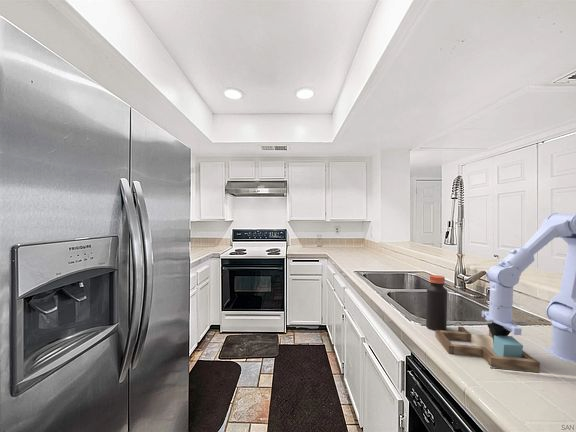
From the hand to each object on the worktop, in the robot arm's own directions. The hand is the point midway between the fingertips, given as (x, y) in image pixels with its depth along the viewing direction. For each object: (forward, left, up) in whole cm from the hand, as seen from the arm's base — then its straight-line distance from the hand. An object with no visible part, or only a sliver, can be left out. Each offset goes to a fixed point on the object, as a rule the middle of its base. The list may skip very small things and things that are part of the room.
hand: (498, 348), depth 88 cm
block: (-1, +3, -1) cm, 3 cm away
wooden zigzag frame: (+5, -2, -2) cm, 6 cm away
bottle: (+13, -16, -2) cm, 21 cm away
